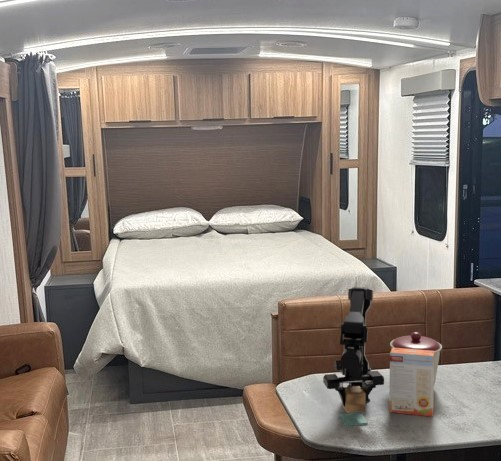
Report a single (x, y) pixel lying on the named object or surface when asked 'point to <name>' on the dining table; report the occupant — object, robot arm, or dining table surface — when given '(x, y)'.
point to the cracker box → (412, 381)
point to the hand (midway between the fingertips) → (353, 404)
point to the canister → (419, 346)
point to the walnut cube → (354, 399)
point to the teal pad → (353, 419)
